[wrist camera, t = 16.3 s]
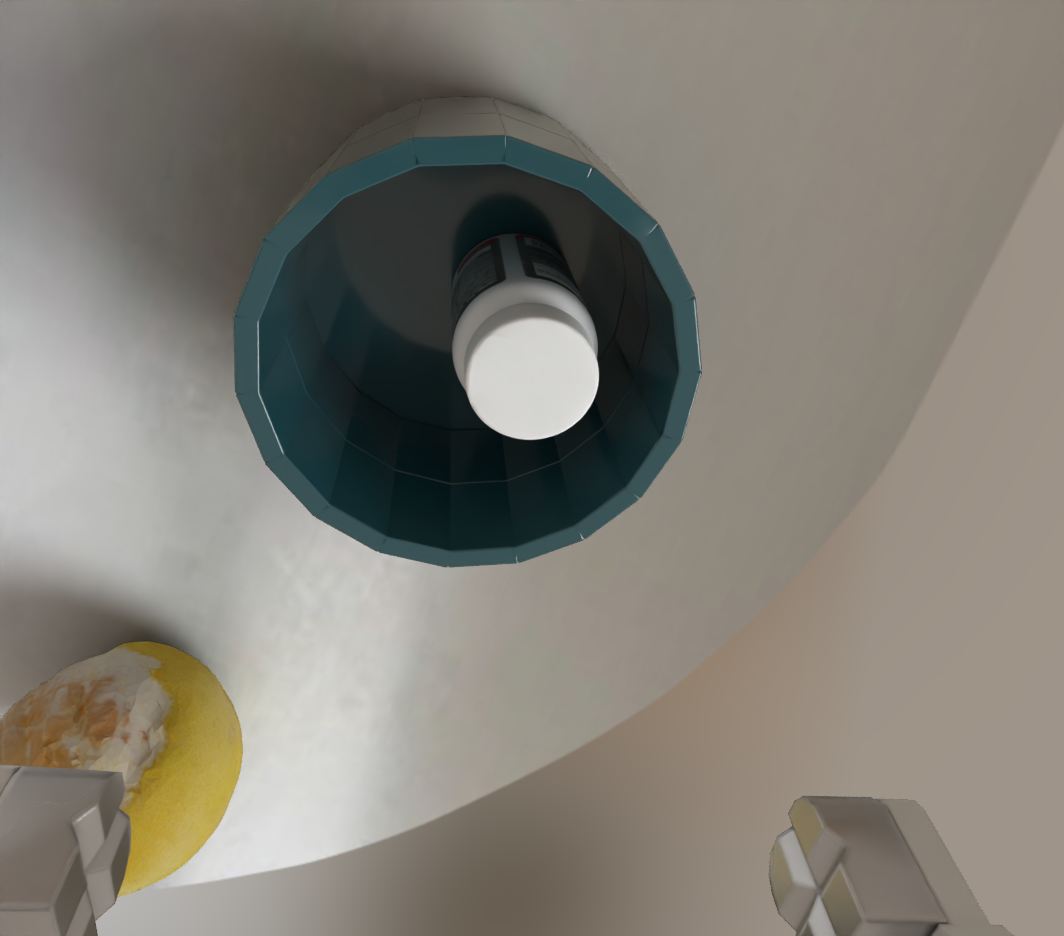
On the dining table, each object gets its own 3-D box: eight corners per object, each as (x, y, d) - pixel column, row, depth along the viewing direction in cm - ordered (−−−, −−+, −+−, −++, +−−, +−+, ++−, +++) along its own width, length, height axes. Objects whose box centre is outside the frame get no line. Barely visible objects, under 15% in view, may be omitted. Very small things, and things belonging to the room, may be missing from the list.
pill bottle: (463, 358, 32) (465, 464, 25) (440, 241, 30) (436, 321, 22) (580, 340, 32) (616, 441, 25) (567, 221, 30) (604, 294, 22)
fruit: (301, 656, 40) (259, 838, 31) (197, 778, 44) (135, 969, 35) (101, 561, 36) (-9, 738, 28) (6, 703, 40) (-117, 898, 31)
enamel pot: (677, 126, 29) (759, 176, 21) (600, 454, 35) (641, 583, 28) (292, 61, 27) (226, 90, 19) (288, 422, 33) (238, 552, 26)
